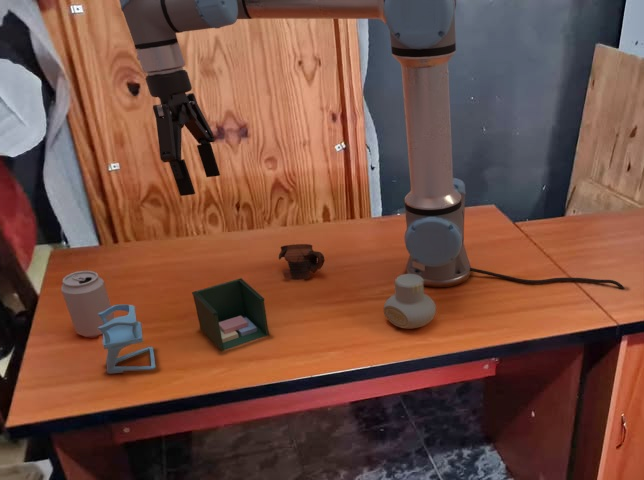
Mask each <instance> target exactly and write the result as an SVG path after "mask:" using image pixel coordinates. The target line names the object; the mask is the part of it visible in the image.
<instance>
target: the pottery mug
mask: <svg viewBox="0 0 644 480" xmlns="http://www.w3.org/2000/svg"><path fill="white" fill-rule="evenodd" d="M280 250H281V251H280V252H279V254H278V257H277V258H278V260H282V258H284V260H285V261H286V262H287V265H288V269H286V270H285V269H284V270H283V271H282V273H283V276H284V278H285V279H287V280H290V281H291V280H297V281H298V280H310V275H311V273H312V274H313V275H315V274H316V273H317V272H318V270H321V268H322V267H324V263H325V261H326V260H325V256H324V255H323V253H322V252H321V251H317V250H313V245H312V244H311V243H295V244H286V245H282V246H280Z"/></svg>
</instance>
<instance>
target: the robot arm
mask: <svg viewBox="0 0 644 480" xmlns="http://www.w3.org/2000/svg"><path fill="white" fill-rule="evenodd" d="M119 4H120V9H121V12H122V13H123V16H124V19H125V23H126V25H127V27H128V30H129V33H130V36H131V39H132V42H133V45H134V49H135V52H136V54H137V55H136V59H137V61H139V63H140V66H141V70H142V72H143V73H145V74H147V75H146V76H145V82H146V85H147V88H148V93H149V94H150V96H151V97H153V98H159V100H160V104H154V105H152V111H153V113H154V117H155V122H156V133H157V140H158V148H159V149H158V150H159V157H160V161H162V163H163V164H164V163H165V164H166V163H169V167H170V169H171V172H172V175H173V178H174V181H175V185H176V187H177V190H178V193H179V196H180V197H183V196H191V195H192V196H193V195H195V194H196V191H195V188H194V185H193V181H192V179H191V176H190V172H189V169H188V167H187V163H186V160H185V159H184V158H183V159H182V129H183V128H184V127H185V128H186V129H187V130H188V132H189V133H190V134H191V136H192V137H193V138H194V140H195V141H196V142H197V143H198V144H197V145H196V148H197V152H198V155H199V158H200V161H201V164H202V167H203V170H204V173H205V177H206V178H213V177H214V178H215V177H219V176H221V173H220V169H219V167H218V162H217V160H216V156H215V153H214V150H213V145H212V143H215V142H216V139H215V137H214V132H213V131H212V128H211V127H210V125H209V123H208V121H207V119H206V117H205V115H204V113H203V111H202V109H201V108H200V106H199V104H198V101H197V99H196V95H195V93H193V92H191V91H192V89H193V86H192V83H191V79H190V77H189V73H188V71H187V70H186V69H184V67H185V66H186V63H185V60H184V56H183V52H182V49H181V46H180V44H179V41H178V37H177V34H180V33H185V32H193V31H200V30H210V29H221V28H223V27H227V26H228V27H229V26H232V25H234V24H235V23H236V22H237V20H253V19H254V20H255V19H256V20H257V19H258V20H259V19H260V20H261V19H262V20H263V19H264V20H266V19H269V20H270V19H271V20H272V19H273V20H277V19H279V20H280V19H282V20H283V19H284V20H285V19H286V20H287V19H288V20H289V19H290V20H291V19H292V20H293V19H294V20H295V19H296V20H303V19H304V20H324V19H325V20H334V19H335V20H381V21H382V22H383V23H384V24H385V25H386V26H387V28H388V30H389V37H390V48H391V56H392V57H393V58H394V59H396V61H397V62H398V63H399V64H400V65H401V66H400V67H401V68H400V69H401V80H402V91H403V92H402V93H403V105H404V117H405V129H406V142H407V143H406V144H407V154H408V167H409V169H408V170H409V179H410V180H409V181H410V191H409V192H408V193H407V194H406V195H405V196H404V211H405V222H406V231H405V232H404V244H405V248H406V251H407V253H408V255H409V256H408V259H407V262H406V274H416V275H419V276H421V277H422V278H423V280H424V287H428V288H429V287H430V288H449V287H454V286H457V285H461V284H463V283H464V282H466V281H467V280H468V279H469V278H470V276H471V272H473V273H478V274H481V275H487V276H491V277H495V278H500V279H503V280H504V279H505V280H507V281H508V280H509V281H513V282H517V283H524V284H546V283H547V284H548V283H555V282H588V283H595V284H612V285H615V286H617V287H618V288H619V289H620V290H625V287H624V286H623V284H621V283H620V282H619V281H616V280H613V279H596V278H587V277H553V278H546V279H525V278H518V277H515V276H510V275H505V274H501V273H496V272H492V271H489V270H483V269H478V268H473V267H471V262H470V259H469V257H468V253H467V250H466V247H465V243H464V240H465V210H466V208H465V207H466V196H467V192H466V184H465V183H464V181H463V180H461V179H460V178H456V177H454V168H453V147H452V144H453V143H452V124H451V123H452V122H451V100H450V98H451V97H450V77H449V76H450V75H449V62H450V60H451V58H453V57H454V55H455V54H456V52H457V45H456V44H457V43H456V42H457V41H456V19H455V18H456V16H455V13H456V12H455V11H456V7H457V0H119ZM189 92H191V93H189Z"/></svg>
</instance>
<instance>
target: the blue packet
mask: <svg viewBox="0 0 644 480" xmlns="http://www.w3.org/2000/svg"><path fill="white" fill-rule="evenodd" d="M244 319H245V320H246V321H247V322H248V327H245V328H242V329H239V330H236V331H237V332H238V333H239V334H240V335H241V336H245V335H248V334H251V333H254V332H257V327H256V326H255V325H254V324H253V323H252V322H251V321H250V320H249V319H247V318H244Z"/></svg>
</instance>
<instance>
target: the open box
mask: <svg viewBox="0 0 644 480" xmlns="http://www.w3.org/2000/svg"><path fill="white" fill-rule="evenodd" d="M191 294H192V297H193V300H194V305H195V310H196V313H197V320H198V323H199V329H200V330H201V331H202V332H203V334H204V335H206V337H207V338H208V339H210V341H211V342H212V343H213V344H214V345H215V346H216V347H217V348H218V350H219V351H221V352H224V351H227V350H230V349H232V348H236V347H238V346H241V345H244V344H248V343H251V342H252V341H256V340H259V339H262V338H265V337H268V336H270V331H269V325H268V319H267V313H266V306H265V305H266V304H265V297H263V296H262V295H261V294H260V293H259V292H258V291H257V290H255V289H254V287H252V286H251V285H250V284H249V283H247V282H246V281H245V280H244V279H243V278H242V277H240V278H237V279H232V280H229V281H225V282H223V283H219V284H216V285H212V286H209V287H206V288H201V289H198V290H194V291H192V292H191ZM237 316H242V317H243V318H247V319H249V320H250V321H251V322H252V323H253V324H254V325H255V326H256V327H257V332H254V333H251V334H248V335H245V336H241V335H240V334H239V333H238V332H237V331H236V332H237V333H238V336H239V338H236V339H233V340H230V341H227V342H224V343H223V341H222V336H221V332H220V327H219V322H222V321H225V320H228V319H231V318H234V317H237Z"/></svg>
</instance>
